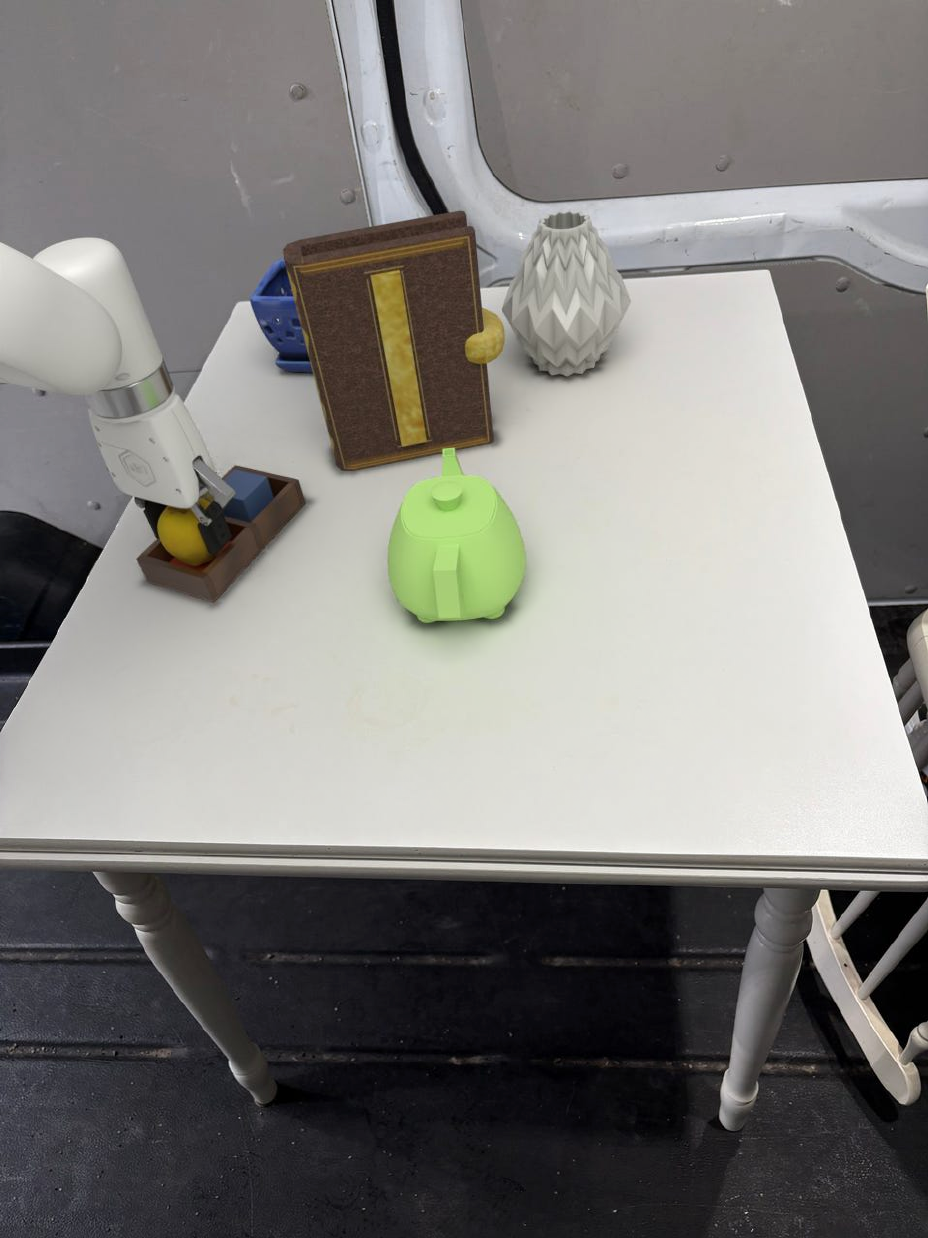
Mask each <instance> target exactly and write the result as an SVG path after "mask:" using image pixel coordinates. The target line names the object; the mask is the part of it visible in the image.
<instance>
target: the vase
mask: <svg viewBox="0 0 928 1238" xmlns="http://www.w3.org/2000/svg"><path fill="white" fill-rule="evenodd" d="M530 238H531V239H530V242H529V243H528V245H527V246H526V247H525V249H523V251H522V253H521V258H520V261H519V266H518V268H517V272H516V275H515V276H514V277H513V279H512V280H511V281H510V283H509V285H508V289H507V291H506V295H505V298H504V300H503V304H502V307H501V312H502V313H503V315H504V317H505V319H506V321H507V322H508V325H509V326H510V328H511V330H512V331H513V333H514V335H515V338H516V340H517V341H518V343H519V345H520V346H521V348H522V350H523V351H524V353H525V355H526V356H528V357H530V358H532V360H533V364H534V365H537V366H538V370H539V372H548V374H549V375H550V376H555V375H557V376H558V375H562V376H565V377H567V378H568V377H570V376H571V375H573V374H580V375H583V374H584V373H585V371H587V370H588V369H594V368H595V365H596V363H597V362H598V361H600V358H601V354H603V353H605V352H607V351H608V348H609V347H610V345H611V343H612V341H613V340H614V338H615V336H616V334H617V332H618V330H619V326H620V325H621V323H622V321H623V319H624V317H625V315H626V314H627V311H628V308H629V307H630V305H631V303H632V299H631V297H630V294H629V292H628V289H627V287H626V284H625V282H624V279H623V276H622V274H621V273H620V272H619V271H618V270H617V268H615V267H614V263H613V261H612V257H611V253H610V250H609V247H608V244H606V243H605V242H604V240H602V238H601V237H600V235H599V232H598V229H597V228H596V227H595V226H594V225H593V222H592V220H591V218H590V215H589V214H583V212H582V211H576V212H574V211H572V210H571V209H570V210H567V211H565V212H563V211H559V210H557V211H556V212H555V213H553V214H551V213H547V214H546V216H545V217H541V218H539V219H538V224H537V227H536V230H535V231H533V233H532V235H531V237H530Z"/></svg>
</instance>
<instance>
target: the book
mask: <svg viewBox="0 0 928 1238" xmlns="http://www.w3.org/2000/svg"><path fill="white" fill-rule="evenodd" d="M476 236H477V235H476V230H475V228H474V226H472V225H468V219H467V214H466V211H465V210H456V211H451V212H450V211H449V212H445V213H440V214H433V215H428V216H423V217H416V218H412V219H406V220H399V221H395V222H390V223H389V222H388V223H384V224H377V225H374V226H367V227H361V228H355V229H351V230H344V231H340V232H335V233H328V234H323V235H322V234H321V235H317V236H312V237H306V238H300V239H298V240H295V241H292V242H289V243H287V244H286V245H285V246H284V248H283V249H282V253H283V259H284V261H285V265H286V269H287V273H288V277H289V281H290V285H291V290H292V293H293V296H294V300H295V304H296V308H297V312H298V316H299V320H300V324H301V328H302V332H303V336H304V340H305V344H306V348H307V351H308V355H309V359H310V363H311V367H312V371H313V372H312V375H313V378H314V382H315V385H316V386H315V387H316V390H317V394H318V399H319V402H320V406H321V410H322V415H323V418H324V421H325V426H326V429H327V434H328V437H329V441H330V446H331V449H332V453H333V457H334V461H335V465H336V467H338V468H339V469H340V470H341V471H349V472H352V471H353V472H354V471H359V470H364V469H369V468H373V467H378V466H384V465H388V464H395V463H398V462H403V461H408V460H414V459H418V458H424V457H428V456H434V455H438V454H443V449H446V448H455V451H459V450H463V449H467V448H472V447H473V448H474V447H479V446H483V445H484V446H485V445H489V444H493V443H494V441H495V439H494V430H493V429H494V427H493V417H492V416H493V415H492V405H491V395H490V394H491V393H490V382H489V372H488V371H489V370H488V364H489V363H491V362H493V361H494V360H495V359H497V358H498V357H500V355H501V354H502V353H503V350H504V347H505V342H506V334H505V327H504V324H503V322H502V320H501V318H500V317H499V316H498V314H496V313H495V312H494V311H491V310H490V309H487V308H485V307H483V304H482V294H481V282H480V271H479V270H480V269H479V259H478V248H477V238H476Z"/></svg>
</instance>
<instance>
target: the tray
mask: <svg viewBox="0 0 928 1238" xmlns="http://www.w3.org/2000/svg"><path fill="white" fill-rule="evenodd" d="M234 470H240V471H244V472H248V473H253V474H257V475H261V476H266V477H267V479H268V482H269V485H270V488H271V491H272V494H273V497H274V499H273V500H272V501H271V502H270V503H269V504H268V505H267V506H266V507H265V508H264V509H263V510H262V511H261V512H260V513H259V514H258V515H257V516H256V517H255V518H254V519H253V520H252V521H251V523H249V522H245V521H242V520H238V519H234V518H230V517H226V516H224V517H225V519H226V522H227V525H228V527H229V530H230V532H231V535H232V537H231V539H230V540H229V541H228V542H227V543H226V544H225V546H224V547H223V548H222V549H221V550H220V551H219V552H218V553H217V554H216V556H215V557H214V559H213V560H211V561H209V562H206V563H204V564H201V565H199V566H192V565H188V564H184V563H182V562H181V561H179V560H178V559H177V558H176V557H174V556H173V555H171V554H170V553H169V552H168V551H167V550H166V549H165V547H164V546H163V544H162V543H161V541H160V540H159V539H156V538H155V540H154V541H153V542H152V543H151V544H150V545H149V546H147V548H145V550H144V551H142V552H141V554H139V556H137V557H136V558H135V560H136V562H137V564H138V565H139V567H140V569H141V571H142V573H143V575H144V577H145V579H146V582H147V583H149V584H153V585H156V586H159V587H162V588H166V589H169V590H172V591H175V592H178V593H181V594H185V595H188V596H192V597H195V598H197V599H201V600H203V601H208V602H211V603H215V602H216V601H217V600H218V599H219V598H220V597H221V595H223V593H224V592H225V591H226V590H227V589H228V588H229V587H230V586H231V585H232V584H233V583H234V582H235V580H236V579H237V578H238V577H239V576H240V575H241V574H242V573H243V572H244V571H245V570H246V569H247V567H248V566H249V565H250V564H251V563H252V562H253V561H254V560H255V559H256V558H257V557H258V555H259V554H260V553H261V552H262V551H263V550H264V549H265V548H266V547H267V546H268V545H269V543H270V542H272V540H274V538H275V537H276V536H277V535H278V534H279V533H280V532H281V531H282V530H283V528H284V527H285V526H286V525H287V524H288V523H289V522H290V521H291V520H292V519H293V518H294V517H295V515H296V514H297V513H298V512H299V511H300V510H301V509H302V508H303V507H304V506H305V505H306V502H307V501H306V499H305V496H304V493H303V489H302V486H301V483H300V479H298V478H295V477H289V476H284V475H280V474H276V473H272V472H267V471H264V470H263V471H262V470H259V469H254V468H250V467H245V466H241V465H236V464H235V465H233V466H232V467H231V468H230V469H229V470H228V471H227V472H226V473H225V474H224V475H223V476H221V478H222V479H223V480H225V479H226V478H227V477H228V476H229V475H230V474H231V473H232V472H233V471H234ZM201 498H202V499H205V500H207V499H206V497H205V496H204V495H203V496H202V497H201ZM207 501H208V500H207Z"/></svg>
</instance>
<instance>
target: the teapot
mask: <svg viewBox="0 0 928 1238" xmlns="http://www.w3.org/2000/svg"><path fill="white" fill-rule="evenodd" d="M441 467H442V468H441V476H437V477H435V476H434V477H430V478H426V479H422V480H420V481H418V482H416V483H415V484H413V485H412V486H411V487H410V488H409V490H408V491H407V492H406V494H405V496H404V497H403V499H402V501H401V505H400V506H399V508H398V511H397V514H396V517H395V519H394V521H393V525H392V529H391V531H390V536H389V540H388V546H387V547H388V549H387V572H388V579H389V582H390V586H391V589H392V592H393V595H394V596H395V597H396V599H397V601H398V602H399V604H401V605H402V607H403V608H405V609H406V610H407V611H409V613H412V614H414V615H415V616H416V618H417V620H419V621H420V622H422V623H428V624H429V623H434V622H437V621H443V622H445V621H446V622H449V621H451V622H452V621H453V622H454V621H467V620H473V619H480V618H485V619H489V620H494V619H497V618H499V617H501V616H502V615H503V614H504V613H505V611H506V610H505V609H506V606H507V605H508V604H509V603H510V602H511V601H512V599H513V598H514V597H515V596H516V594H517V593H518V591H519V590H520V589H519V588H520V587H521V584H522V582H523V579H524V577H525V572H526V568H527V567H526V566H527V556H526V546H525V543H524V539H523V536H522V531H521V529H520V527H519V524H518V521H517V520H516V518H515V516H514V514H513V512H512V510H511V509H510V507H509V506H508V504H507V503H506V501H505V500H504V498H503V497H502V496H501V494H500V493H499V492H498V491H497V489H496V488H495V487H494V486H493V485H492V484H491V483H490V482H489V481H488V480H487V479H486V478H484V477H481V476H477V475H469V474H467V475H466V474H464V472H463V469H462V467H461V464H460V461H459V458H458V455H457V452H456V450H455V448H446V449H443V453H442V466H441Z"/></svg>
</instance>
